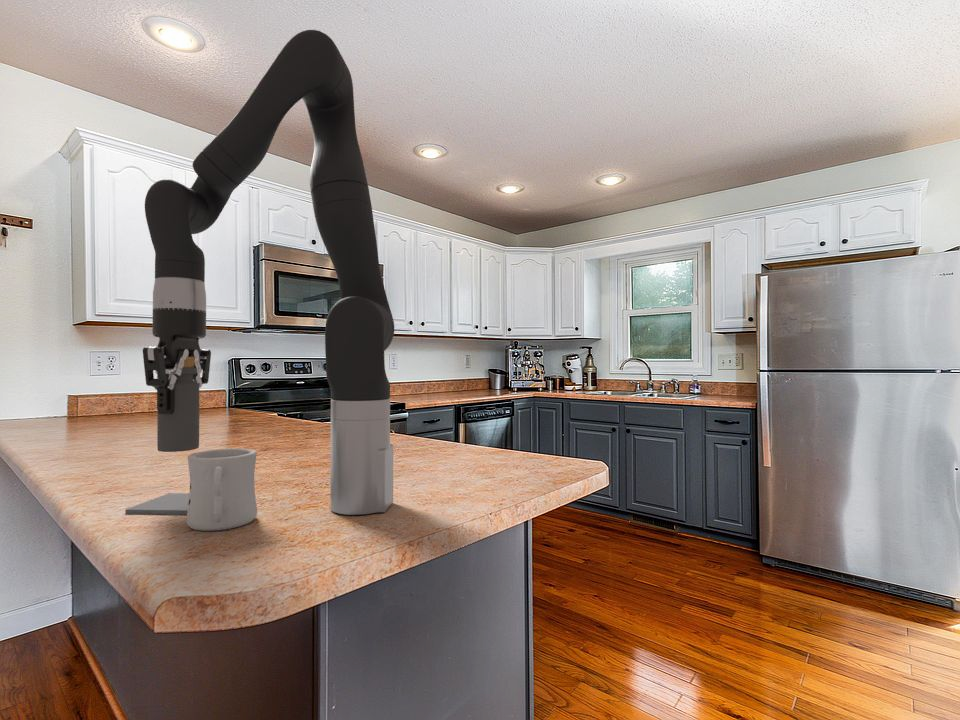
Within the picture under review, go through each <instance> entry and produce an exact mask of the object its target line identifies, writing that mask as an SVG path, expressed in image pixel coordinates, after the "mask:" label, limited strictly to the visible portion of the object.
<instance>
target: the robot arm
mask: <svg viewBox="0 0 960 720" xmlns="http://www.w3.org/2000/svg"><path fill="white" fill-rule="evenodd" d="M301 100H302V101H303V103H304V105H305V107H306V110H307V114H308V118H309V122H310V126H311V131H312V136H313V155H312V161H311V166H310V171H309V172H310V173H309V188H310V189H309V191H310V196H311V202H312V209H313V213H314V218H315V222H316V227H317V230H318V232H319V235H320V238H321V240H322V242H323V245H324V246H325V247H324V248H325V249H326V252H327V254H328V256H329V258H330V261H331V263H332V265H333V268H334V271H335V273H336V277H337V281H338V286H339V292H340V299H339V300H338V301H336V303H335V304H333V306H332V307H331V308H330V310H329V312H328V314H327V316H326V321H325V328H324V344H325V345H324V351H325V353H324V354H325V374H326V375H325V376H326V379H327V380H326V381H327V382H328V386H329V389H330V493H329V494H330V495H329V499H330V510H331V512H333V513H336V514H340V515H346V516H347V515H349V516H350V515H352V516H355V515H359V516H360V515H369V514H374V513H385V512H386V511H387V510H388V509H389V508H390V507H391V505H392V504H393V503H394V445H393V444H392V443H391V384H390V381H389V379H388V376H387V372H386V366H385V365H386V364H385V361H386V360H385V351H386V350H387V349H388V348H389V347H390V345H391V344H392V342H393V338H394V336H395V321H394V318H393V314H392V311H391V308H390V304H389V303H390V302H389V300H388V297H387V293H386V289H385V285H384V282H383V277H382V273H381V268H380V261H379V260H380V259H379V252H378V251H379V250H378V242H377V236H376V229H375V228H376V227H375V222H374V213H373V207H372V201H371V195H370V189H369V184H368V183H369V182H368V180H367V174H366V169H365V165H364V161H363V156H362V153H361V148H360V145H359V142H358V136H357V129H356V128H357V127H356V115H355V97H354V83H353V79H352V73H351V72H350V69H349V67H348V65H347V63H346V62H345V60H344V57H343V55H342V54H341V52H340V50H339V48H338V47H337V45H336V44H335V42H334V41H333V39H332V38H331V37H330V36H329V35H328V34H327V33H324V32H322V31H320V30H317V29H306V30H302V31H300V32H298V33H297V34H295V35H294V36H293V37H291V38H290V40H288V41H287V42H286V43H285V45H284V46H283V48H281V50H280V52H279V53H278V55H277V56H276V58H275V59H274V61H273V62H272V63H271V65H270V66H269V68H268V69H267V71H266V72H265V74H264V75H263V77H262V78H261V80H260V81H259V82H258V84H257V85H256V86H255V88H254V89H253V91H252V92H251V94H250V95H249V97H248V98H247V100H246V101H245V103H244V104H243V105H242V107H241V108H240V109H239V110H238V111H237V113H236V114H235V115H234V117H233V118H232V119H231V120H230V121H229V122H228V123H227V125H225V127H224V128H223V129H222V130H221V131H220V132H219V133H218V134H217V135H216V136H214V138H213V139H212V140H211V141H210V142H209V143H208V144H207V145H206V146H205V147H204V148H203V149H202V150H201V151H200V152H199V153H198V154H197V155H196V157H194V158H193V161H192V168H193V171H194V172H195V174H196V176H197V177H196V178H195V181H194V182H193V184H192V185H191V187H188V186H187V185H185V184H183V183H181V182H179V181H176V180H174V179H169V178H168V179H167V178H164V179H159V180H158V181H155V182H154V183H153V184H151V185H150V187H149V189H148V190H147V193H146V195H145V198H144V213H145V214H144V215H145V219H146V220H145V221H146V224H147V228H148V232H149V236H150V241H151V243H152V246H153V250H154V253H155V255H154V257H155V258H154V283H153V289H152V290H153V291H152V336H153V337H155V338H159V339H158V340H159V341H158V343H157V346H144V347H143V348H142V357H143V367H144V376H145V377H144V378H145V383H146V384H145V385H146V386H148V387H152V388H154V390H156V410H157V414H158V413H159V414H172V413H173V412H174V390H172V389H173V388H174V385H175V382H176V379H177V377H179V376H180V375H181V373H182V368H183V366H184V360H185V359H186V357H196V359H195V363H194V368H197V374H194V375H193V380H194V381H196V382H197V383H199V389H201V388H202V386H203V385H206V384H208V383H209V379H210V377H209V376H210V369H211V368H210V367H211V357H212V351H211V350H210V349H201V347H200V343H199V340H200V339H204V338H205V337H206V336H207V292H206V283H205V282H206V281H205V279H206V277H205V275H206V270H205V269H206V268H205V267H206V265H205V264H206V263H205V262H206V259H205V253H204V251H203V250H202V249H201V248H200V246H198V245H197V244H196V242H195V241H194V239H193V235H197V234H201V233H203V232H204V231H206V230H208V229H209V228H211V227H212V226H213V225H214V224H215V223H216V221H217V220H218V218H219V217H220V216H221V213H222V212H223V210H224V209H225V206H226V204H228V201H229V199H230V197H231V195H232V193H233V192H234V190H236V189H237V188H238V187H239V186H240V185H241V184H242V183H243V182H244V181H245V180H246V179H247V178H248V177H249V176H250V175H251V174H252V173H254V171H255V170H256V169H257V167H259V165H260V164H261V163H262V161H263V160H264V158H265V156H266V155H267V153H268V151H269V149H270V146H271V143H272V141H273V139H274V136H275V135H276V132H277V131H278V128H279V126H280V124H281V123H282V121H283V119H284V118H285V116H286V115H287V113H289V111H291V109H292V108H293V106H295V105H296V104H297V103H299V101H301ZM165 368H174V369H171V370H170V369H165ZM154 372H155V374H156V377H155V375H154ZM201 373H202V375H201ZM166 377H169V378H168V381H166Z"/></svg>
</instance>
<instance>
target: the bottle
mask: <svg viewBox="0 0 960 720" xmlns="http://www.w3.org/2000/svg"><path fill="white" fill-rule="evenodd" d="M195 359H196V357H186V359H185V360H184V366H183V368H182V373H181V375H180V376H179V377H177V379H176V382H175V385H174V388H173V389H172V390H174V412H173V413H172V414H159V413H158V412H157V422H156V423H157V429H156V431H157V433H156V434H157V439H156V441H157V443H156V445H157V451H158V452H162V453H176V452H177V453H179V452H188V451H193V450H197V449H199V447H200V388H199V383H197V382H196V381H194V380H193V375H194V374H197V368H194V363H195ZM165 369H170V370H171V369H174V368H165ZM168 378H169V377H166V381H168Z"/></svg>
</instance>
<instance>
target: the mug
mask: <svg viewBox="0 0 960 720" xmlns="http://www.w3.org/2000/svg"><path fill="white" fill-rule="evenodd" d="M257 452H258V451H256V450H255V449H249V448H221V449H220V448H219V449H210V450H209V449H207V450H203V451H197V452H194V453H190V454H189V455H188V456H187V462H188V472H189V493H190V497H189V504H188V511H187V514H186V525H187V526H188V527H189V528H190V529H191V530H195V531H200V532H202V531H204V532H206V531H207V532H209V531H210V532H213V531H223V530H228V529H234V528H238V527H242V526H246V525H247V524H249V523H251V522H252V521H254V520H255V519H256V517H257V515H258V508H257V498H256V491H255V490H256V488H255V483H256V482H255V472H256V461H257V455H258V453H257Z"/></svg>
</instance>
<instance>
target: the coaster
mask: <svg viewBox="0 0 960 720" xmlns="http://www.w3.org/2000/svg"><path fill="white" fill-rule="evenodd" d="M189 497H190V492H189V493H183V492H182V493H181V492H180V493H178V492H175V493H173V492H172V493H171V492H169V493H165V494H163V495H160V496H158V497H156V498H153V499H149V500H147V501H145V502H142V503H139V504H136V505H133V506H132V507H129V508H126V509H125V514H126V515H127V514H128V515H129V514H138V515H139V514H141V515H145V514H146V515H187V511H188V504H189Z"/></svg>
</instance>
